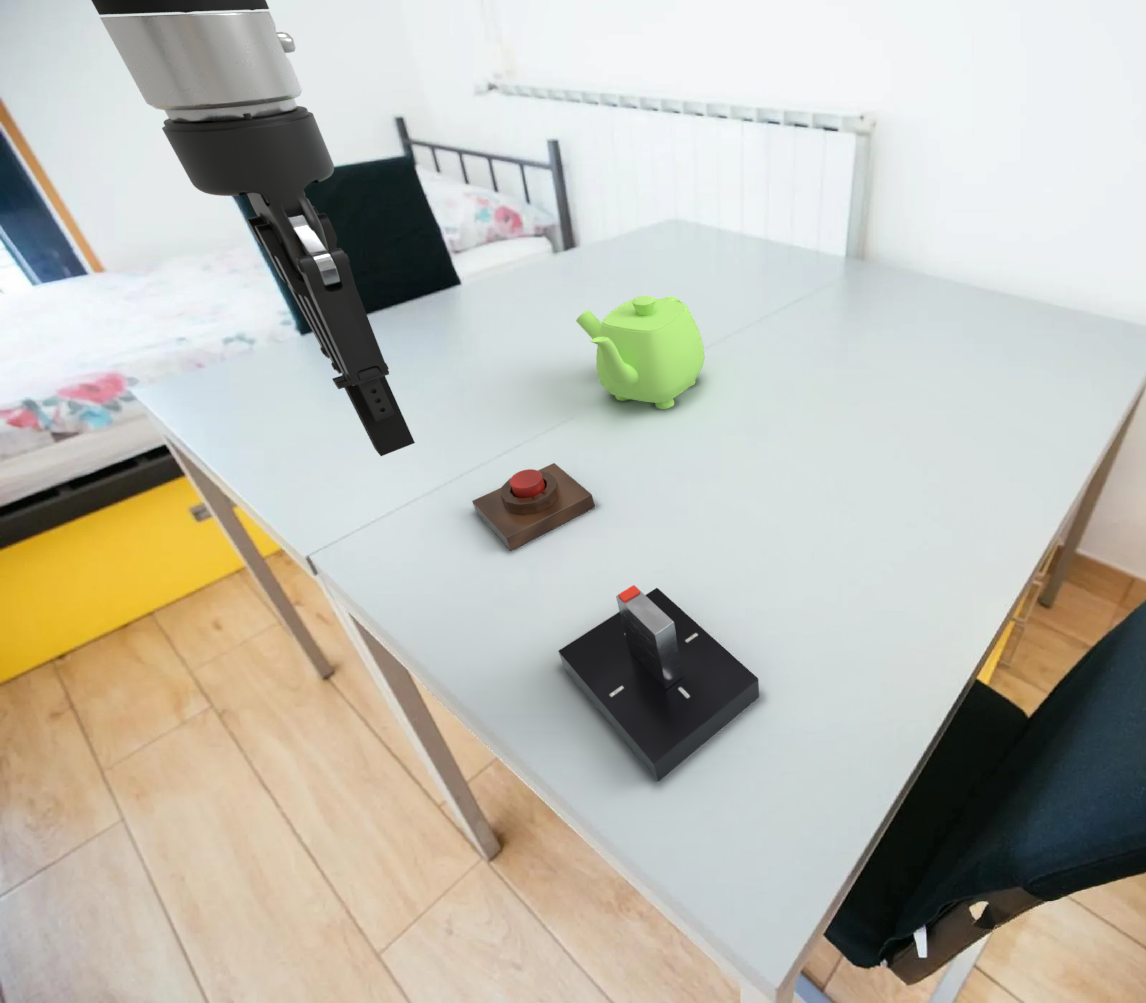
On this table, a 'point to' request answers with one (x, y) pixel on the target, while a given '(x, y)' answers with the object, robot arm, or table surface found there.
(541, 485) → the button
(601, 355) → the teapot
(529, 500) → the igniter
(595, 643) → the panel
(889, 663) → the table surface
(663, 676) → the red-tipped metal bar
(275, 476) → the table surface
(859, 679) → the table surface
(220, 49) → the robot arm
